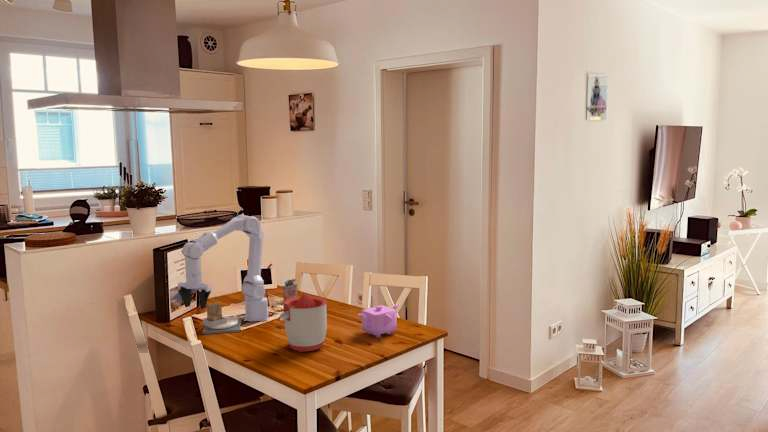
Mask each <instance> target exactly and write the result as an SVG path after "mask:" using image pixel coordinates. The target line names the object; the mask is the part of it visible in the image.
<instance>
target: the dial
mask: <svg viewBox="0 0 768 432" xmlns="http://www.w3.org/2000/svg"><path fill="white" fill-rule="evenodd" d="M238 319H239V318H237V317H235V316H234V317H233V316H222V319H220V320H216V321H213V322H212V321H209V320H207V317H205V318H202V325H204V326H205V325H207V327H209V328H212V329H225V328H230V327H234V326H236V325H237V324H238Z"/></svg>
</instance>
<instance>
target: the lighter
mask: <svg viewBox="0 0 768 432" xmlns="http://www.w3.org/2000/svg"><path fill="white" fill-rule="evenodd" d="M282 289H283V290H282V291H283V293H282V295H283V303H284V301H286V300H288V299H290V298H294V297H298V283H297V281H296V278H292V279H287V280H286V281H284V285H283V286H282Z"/></svg>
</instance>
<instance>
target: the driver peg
mask: <svg viewBox="0 0 768 432" xmlns="http://www.w3.org/2000/svg"><path fill="white" fill-rule="evenodd" d="M222 317H223V309H222V303H220V302H211V303H208V304H207V303H206V318H207V320H209V321H212V322H213V321H216V320H220V319H222Z"/></svg>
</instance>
